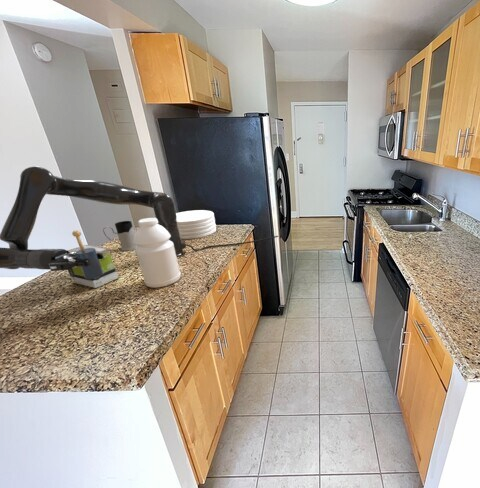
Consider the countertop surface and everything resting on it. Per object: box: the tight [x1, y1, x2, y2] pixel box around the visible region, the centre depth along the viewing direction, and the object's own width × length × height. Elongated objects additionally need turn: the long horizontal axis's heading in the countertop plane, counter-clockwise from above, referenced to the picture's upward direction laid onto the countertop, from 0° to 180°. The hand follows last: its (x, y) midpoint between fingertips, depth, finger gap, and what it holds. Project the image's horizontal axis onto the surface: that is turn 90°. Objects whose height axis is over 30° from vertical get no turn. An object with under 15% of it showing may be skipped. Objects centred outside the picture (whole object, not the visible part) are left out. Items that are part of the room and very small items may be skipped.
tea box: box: [66, 244, 119, 289], centre depth 112 cm, size 15×10×15 cm
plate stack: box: [176, 209, 217, 240], centre depth 174 cm, size 28×28×12 cm
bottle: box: [133, 217, 182, 289], centre depth 110 cm, size 14×14×28 cm
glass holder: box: [102, 220, 138, 251], centre depth 146 cm, size 9×14×15 cm, turn 116°
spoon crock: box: [71, 229, 104, 279], centre depth 93 cm, size 5×5×18 cm
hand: (95, 259), depth 94 cm, fingers closed on spoon crock, 5 cm apart
